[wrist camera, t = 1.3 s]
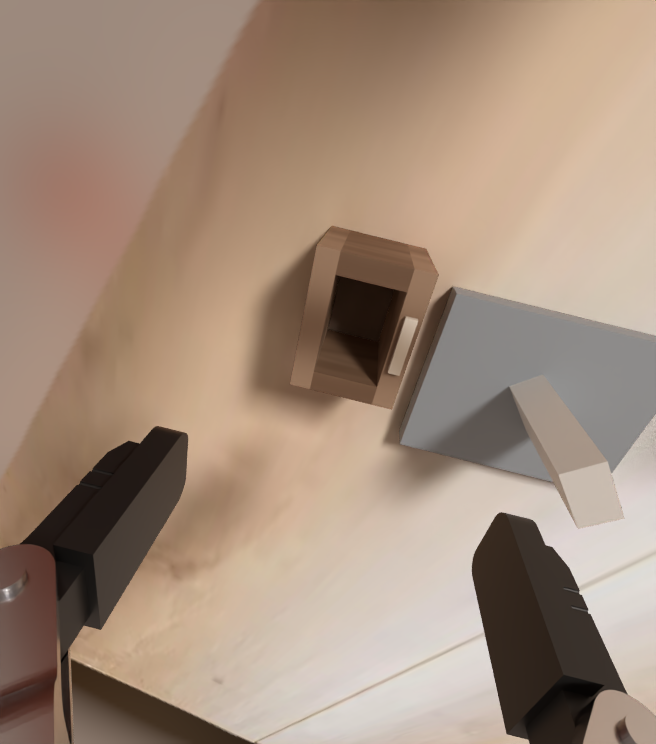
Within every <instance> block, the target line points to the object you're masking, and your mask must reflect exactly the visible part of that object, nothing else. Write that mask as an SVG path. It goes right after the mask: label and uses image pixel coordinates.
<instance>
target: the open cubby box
mask: <svg viewBox="0 0 656 744" xmlns="http://www.w3.org/2000/svg"><path fill="white" fill-rule="evenodd" d="M340 276H342V277H346V278H350V279H354V280H359V281H363V282H367V283H371V284H375V285H379V286H383V287H387V288H391V289H394V292H393V295H392V298H391V302H390V305H389V308H388V312H387V315H386V318H385V322H384V325H383V328H382V332H381V335H380V338H379V342H377V341H373V340H369V339H365V338H361V337H357V336H353V335H349V334H345V333H341V332H337V331H333V330H329V329H328V326H329V321H330V317H331V313H332V308H333V304H334V300H335V295H336V291H337V287H338V282H339V278H340ZM438 276H439V274H438V272H437V270H436V268H435V266H434V264H433V262H432V260H431V258H430V256H429V254H428V252H427V250H426V249H424V248H420V247H416V246H412V245H408V244H404V243H400V242H396V241H392V240H387V239H383V238H379V237H375V236H371V235H367V234H363V233H359V232H355V231H351V230H347V229H342V228H338V227H334V226H331V228H330V229H329V230H328V231H327V233H326V234H325V235H324V237H323V238H322V239H321V240H320V242H319V243H318V244H317V247H316V252H315V257H314V262H313V267H312V272H311V277H310V283H309V288H308V293H307V298H306V303H305V308H304V314H303V319H302V324H301V329H300V334H299V339H298V344H297V350H296V355H295V360H294V365H293V370H292V375H291V381H290V384H291V385H295V386H299V387H303V388H307V389H311V390H315V391H319V392H323V393H327V394H331V395H335V396H339V397H343V398H347V399H351V400H355V401H359V402H363V403H367V404H371V405H375V406H379V407H383V408H388V409H392V407H393V405H394V402H395V399H396V396H397V393H398V390H399V387H400V384H401V382H402V379H403V376H404V373H405V370H406V367H407V364H408V362H409V359H410V356H411V353H412V350H413V347H414V344H415V342H416V339H417V336H418V333H419V330H420V327H421V324H422V321H423V319H424V316H425V313H426V310H427V307H428V304H429V301H430V299H431V296H432V293H433V290H434V287H435V284H436V281H437V279H438Z"/></svg>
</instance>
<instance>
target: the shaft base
mask: <svg viewBox="0 0 656 744" xmlns="http://www.w3.org/2000/svg"><path fill="white" fill-rule="evenodd" d="M655 414H656V336H653V335H649V334H645V333H641V332H637V331H633V330H629V329H625V328H621V327H617V326H613V325H608V324H604V323H600V322H596V321H592V320H588V319H584V318H580V317H576V316H572V315H568V314H564V313H560V312H555V311H551V310H547V309H543V308H539V307H535V306H531V305H527V304H523V303H519V302H515V301H511V300H507V299H503V298H498V297H494V296H490V295H486V294H482V293H478V292H474V291H470V290H466V289H462V288H458V287H454V286H453V287H452V290H451V293H450V296H449V298H448V301H447V304H446V306H445V309H444V312H443V314H442V317H441V320H440V322H439V325H438V328H437V331H436V333H435V336H434V339H433V341H432V344H431V347H430V349H429V352H428V355H427V357H426V360H425V363H424V366H423V368H422V371H421V374H420V376H419V379H418V382H417V384H416V387H415V390H414V392H413V395H412V398H411V401H410V403H409V406H408V409H407V411H406V414H405V417H404V419H403V422H402V425H401V427H400V430H399V439H400V444H402V445H406V446H410V447H414V448H418V449H422V450H426V451H430V452H434V453H438V454H442V455H446V456H450V457H454V458H458V459H462V460H466V461H470V462H474V463H478V464H482V465H486V466H490V467H494V468H498V469H502V470H506V471H510V472H514V473H518V474H522V475H526V476H530V477H534V478H538V479H542V480H546V481H550V482H553V483H554V484H555V486H556V488H557V490H558V492H559V494H560V496H561V498H562V500H563V502H564V503H565V505H566V507H567V509H568V511H569V513H570V515H571V517H572V519H573V520H574V522H575V524H576V526H577V528H578V529H580V528H585V527H589V526H593V525H598V524H602V523H606V522H611V521H615V520H620V519H624V515H623V512H622V509H621V505H620V502H619V498H618V495H617V492H616V488H615V485H614V481H613V478H612V475H611V474H612V472H613V471H614V469H615V468H616V467H617V465H618V464H619V463H620V461H621V460H622V459H623V457H624V456H625V455H626V453H627V452H628V450H629V449H630V448H631V446H632V445H633V444H634V442H635V441H636V440H637V438H638V437H639V436H640V434H641V433H642V431H643V430H644V429H645V427H646V426H647V425H648V423H649V422H650V421H651V419H652V418H653V417H654V415H655Z"/></svg>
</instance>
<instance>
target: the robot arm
mask: <svg viewBox="0 0 656 744" xmlns="http://www.w3.org/2000/svg"><path fill="white" fill-rule="evenodd" d="M187 449H188V435H187V433H184V432H180V431H176V430H172V429H168V428H164V427H160V426H156V427H154V428H153V429H152V430H151V431H150V433H149V434H148V435H147V436H146V437H145V438H144V439H143V441H142V442H141V443H140V444H139V443H135V442H131V441H128V442H126V443H124V444H122V445H120V446H119V447H117V448H115V449H113V450H111V451H109V452H108V453H107V454H106V455H105V456H104V457H103V458H102V459H101V460H100V461H99V462H98V463H97V464H96V465H95V466H94V468H93V470H92V472H91V471H90V472H89V473H88V474H87V475H86V476H85V477H84V478H83V479H82V480H81V481H80V484H79V485H76V487H75V488H74V489H73V490H72V491H71V492H70V493H69V494H68V495H67V496H66V497H65V498H64V499H63V500H62V501H61V502H60V503H59V504H58V506H57V507H56V508H55V509H54V510H53V511H52V512H51V513H50V514H49V515H48V516H47V517H46V518H45V519H44V520H43V521H42V522H41V524H40V525H39V526H38V527H37V528H36V529H35V530H34V531H33V532H32V533H31V534H30V535H29V536H28V537H27V538H26V539H25V540H24V541H23V542H22V543H20V544H19V545H13V546H8V547H5V548H2V549H0V744H74V729H73V707H72V684H71V660H70V646H71V644H72V643H73V641H74V640H75V638H76V637H77V635H78V633H79V632H80V630H81V629H82V627H83V626H88V627H92V628H96V629H100V630H101V629H102V627H103V626H104V624H105V622H106V621H107V619H108V617H109V616H110V614H111V612H112V611H113V609H114V607H115V606H116V604H117V602H118V601H119V599H120V597H121V596H122V594H123V592H124V591H125V589H126V587H127V586H128V584H129V582H130V581H131V579H132V577H133V576H134V574H135V572H136V571H137V569H138V567H139V566H140V564H141V562H142V561H143V559H144V557H145V556H146V554H147V552H148V551H149V549H150V547H151V546H152V544H153V542H154V541H155V539H156V537H157V536H158V534H159V533H160V531H161V529H162V528H163V526H164V524H165V523H166V521H167V519H168V518H169V516H170V514H171V513H172V511H173V509H174V508H175V506H176V504H177V503H178V501H179V499H180V496H181V494H182V491H183V488H184V485H185V480H186V467H187ZM472 576H473V581H474V586H475V590H476V595H477V600H478V604H479V609H480V614H481V618H482V623H483V627H484V632H485V637H486V641H487V646H488V650H489V655H490V660H491V664H492V669H493V673H494V678H495V683H496V687H497V692H498V696H499V701H500V706H501V710H502V715H503V719H504V724H505V729H506V733H507V734H508V735H512V736H516V737H520V738H524V739H528V740H529V743H530V744H656V716H655V715H654V714H653V713H652V712H651V711H650V710H649V709H648V708H647V707H645V706H644V705H643V704H642V703H640V702H639V701H638V700H636V699H634V698H633V697H631V696H629V695H628V694H627V692H626V690H625V688H624V686H623V684H622V682H621V679H620V677H619V675H618V673H617V671H616V669H615V666H614V664H613V662H612V660H611V658H610V656H609V653H608V651H607V649H606V647H605V645H604V643H603V640H602V638H601V636H600V634H599V632H598V629H597V627H596V625H595V623H594V621H593V619H592V616H591V614H588V608H587V606H586V603H585V601H584V599H583V597H582V595H580V594H579V591H580V590H579V588H578V586H577V584H576V582H575V579H574V577H573V575H572V573H571V571H570V569H569V567H568V566H567V565H566V564H565V562H564V561H563V560H562V559H561V557H560V556H559V555H558V554H557V552H556V551H555V550H554V549H553V547H550V546H546V545H545V543H544V541H543V538H542V536H541V534H540V531H539V529H538V527H537V525H536V523H535V522H534V521H533V520H531V519H527V518H523V517H519V516H515V515H511V514H507V513H502V512H501V513H499V514H497V515H496V517H495V518H494V520H493V522H492V523H491V525H490V527H489V529H488V530H487V532H486V534H485V535H484V537H483V539H482V541H481V542H480V544H479V546H478V547H477V549H476V551H475V553H474V557H473V562H472Z"/></svg>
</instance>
